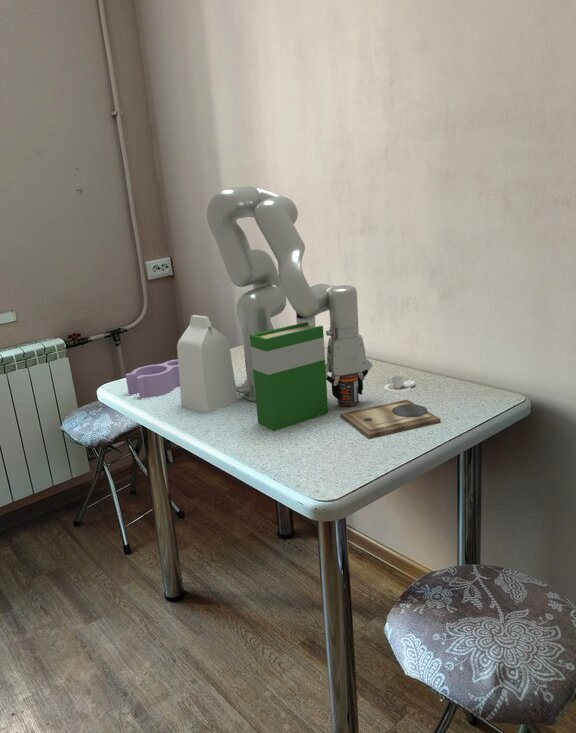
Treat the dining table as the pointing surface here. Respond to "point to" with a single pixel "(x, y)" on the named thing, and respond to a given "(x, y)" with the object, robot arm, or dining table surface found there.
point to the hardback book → (289, 375)
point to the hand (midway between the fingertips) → (347, 394)
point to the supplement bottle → (348, 390)
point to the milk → (205, 367)
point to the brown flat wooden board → (389, 418)
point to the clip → (154, 379)
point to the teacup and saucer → (399, 383)
